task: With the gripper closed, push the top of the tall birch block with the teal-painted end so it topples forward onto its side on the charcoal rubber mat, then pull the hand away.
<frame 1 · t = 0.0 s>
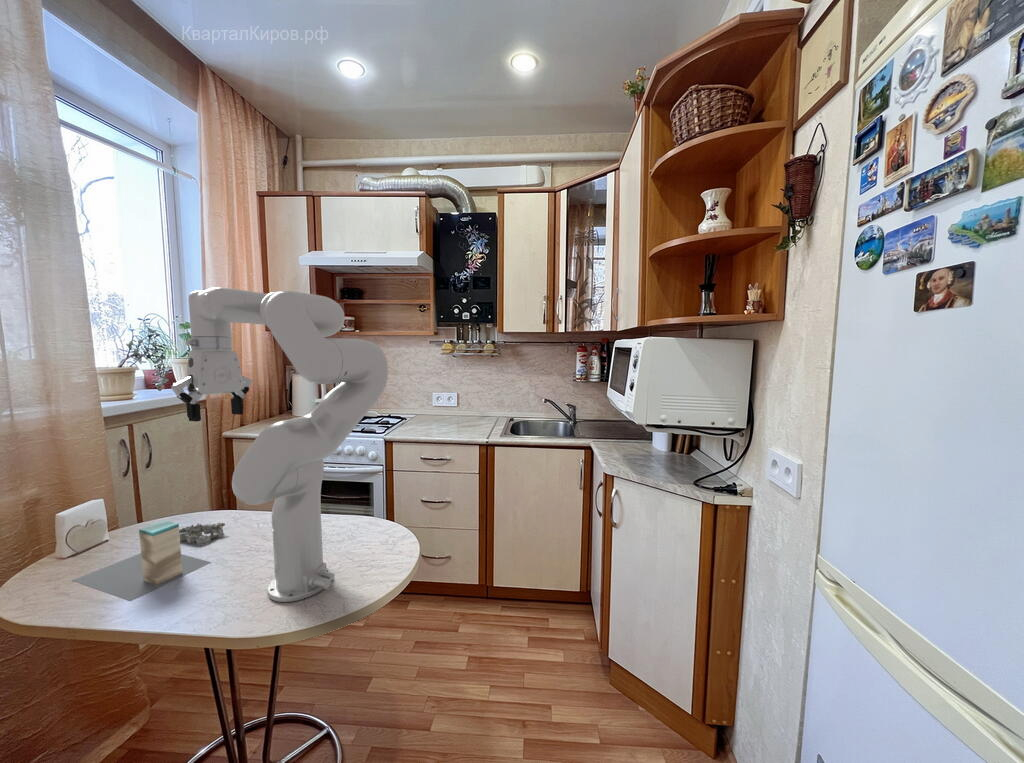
hand: (217, 417, 94), 37 cm above the table, tool pointing down, fingers open, 9 cm apart
rubber mat: (144, 573, 94), on the table
birch block: (163, 576, 91), point 1 cm above the table, touching rubber mat
grey jagged stone ring: (200, 540, 111), on the table
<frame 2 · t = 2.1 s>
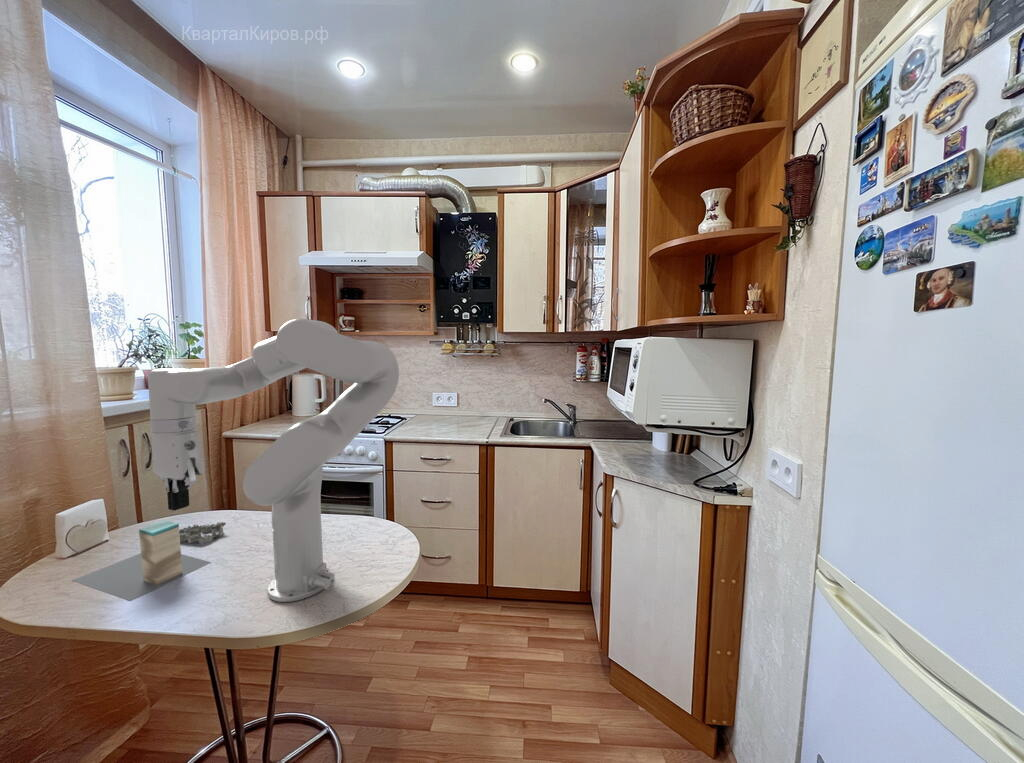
hand: (179, 507, 87), 18 cm above the table, tool pointing down, fingers closed
nothing on the table moved.
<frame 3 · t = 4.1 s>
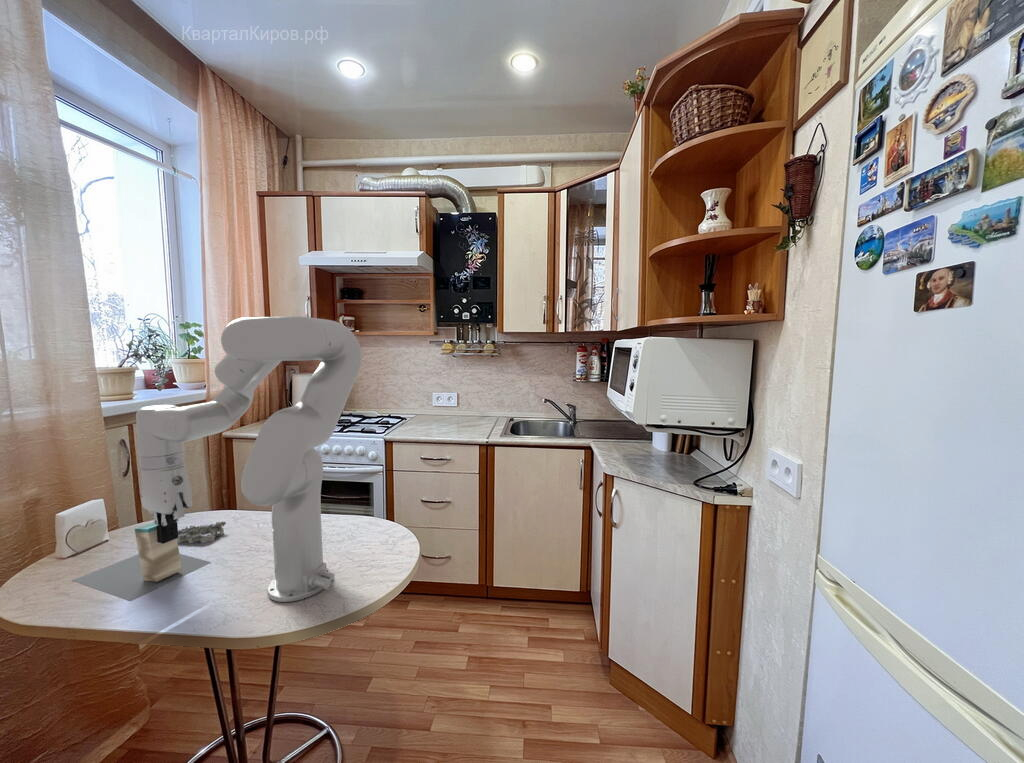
hand: (168, 540, 89), 10 cm above the table, tool pointing down, fingers closed
birch block: (163, 575, 91), point 1 cm above the table, tilted 8°, touching rubber mat
everything else where it was.
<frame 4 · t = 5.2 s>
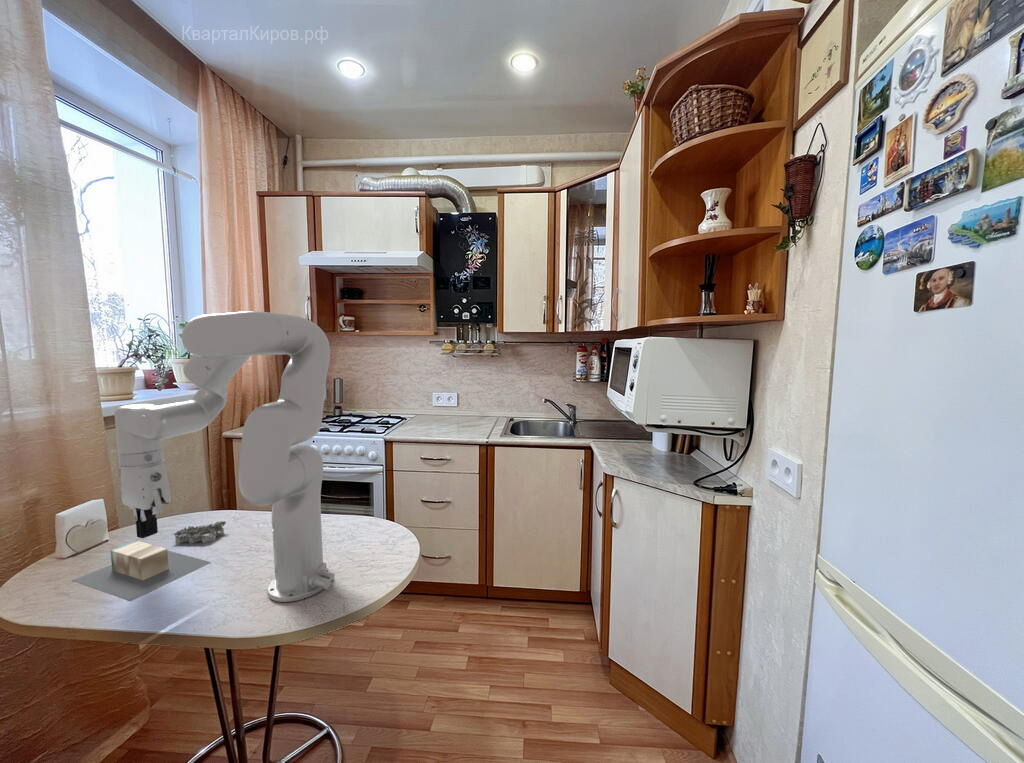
hand: (147, 535, 92), 10 cm above the table, tool pointing down, fingers closed
birch block: (155, 564, 92), point 3 cm above the table, tilted 90°, touching rubber mat
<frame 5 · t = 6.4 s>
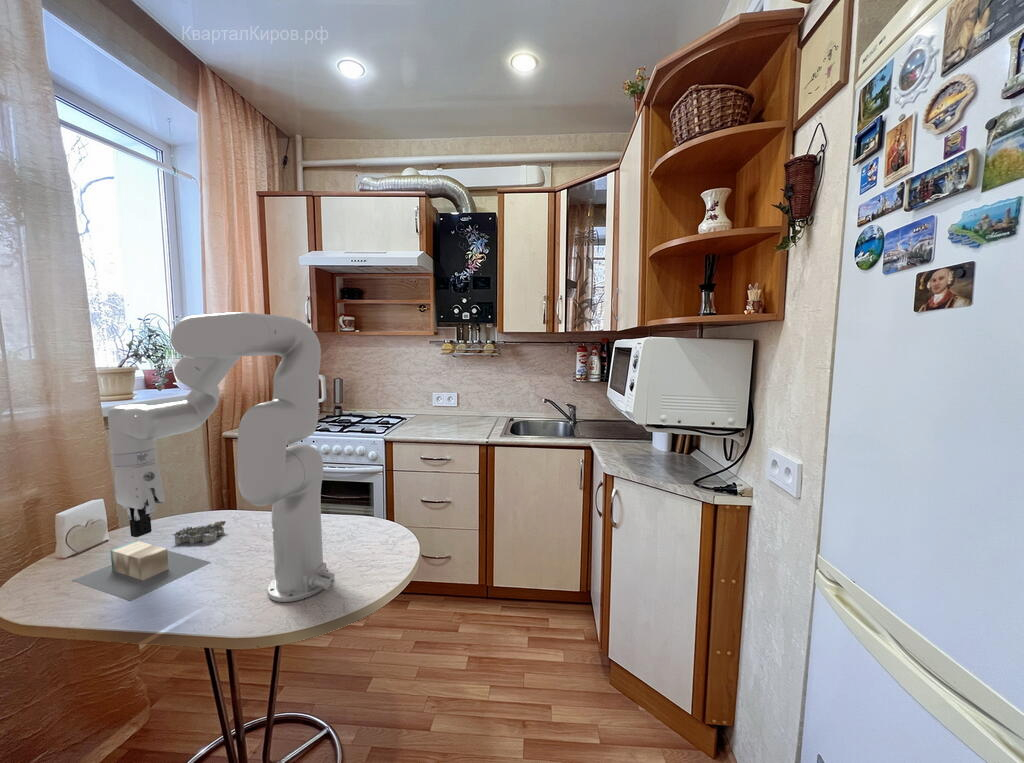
hand: (141, 534, 93), 10 cm above the table, tool pointing down, fingers closed
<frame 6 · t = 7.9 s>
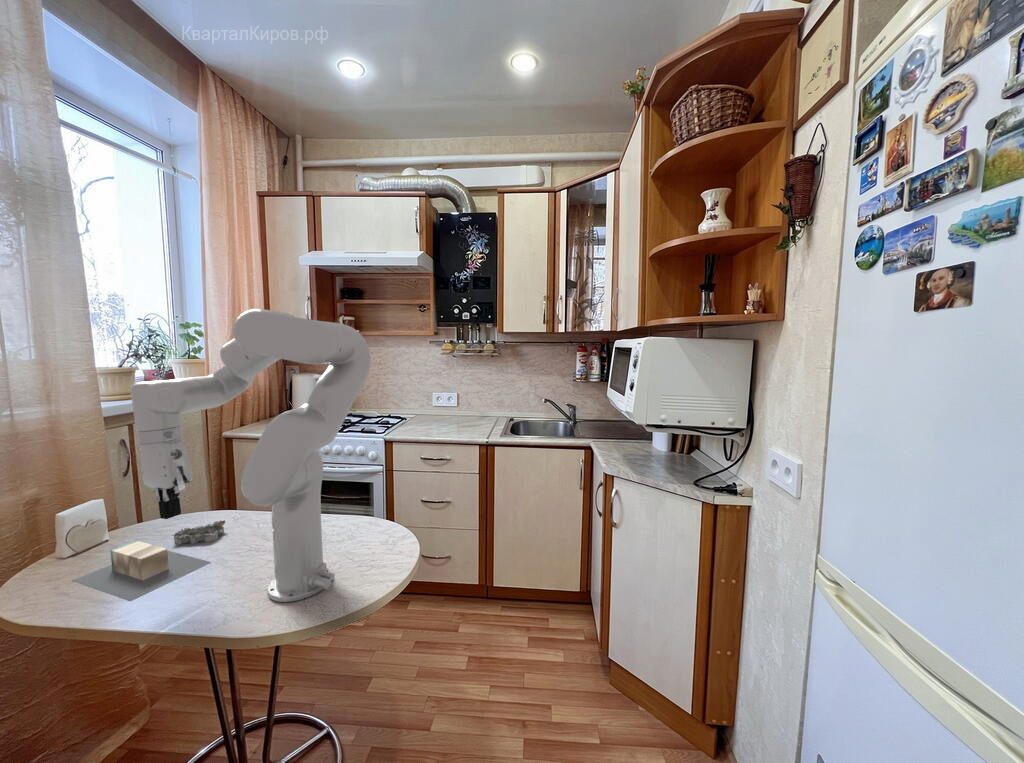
hand: (171, 516, 89), 15 cm above the table, tool pointing down, fingers closed
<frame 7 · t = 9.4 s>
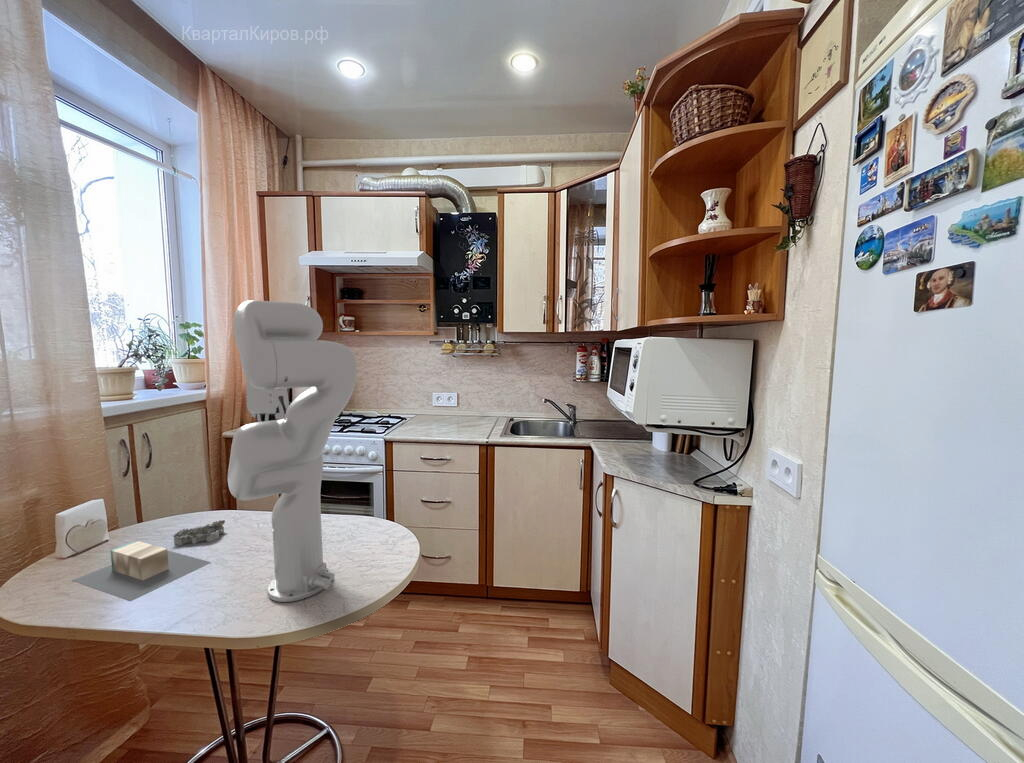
hand: (268, 439, 105), 29 cm above the table, tool pointing down, fingers closed
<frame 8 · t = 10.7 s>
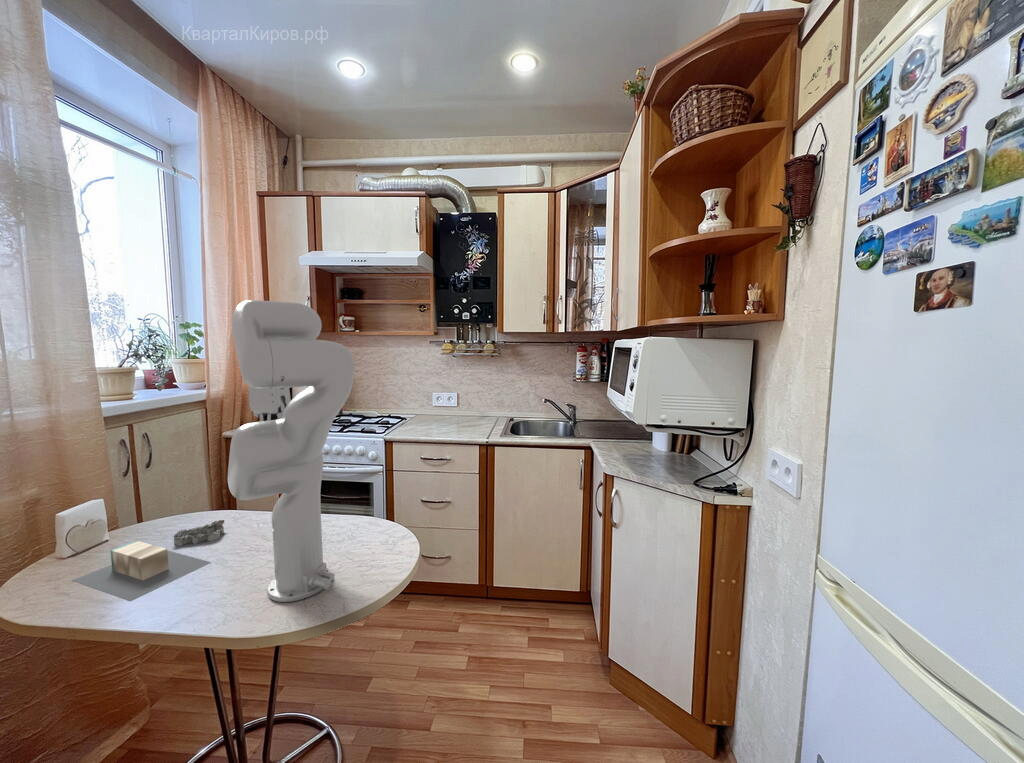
hand: (271, 438, 105), 29 cm above the table, tool pointing down, fingers closed
at the end: birch block tilted 90°; birch block inside the target area on the rubber mat (4.5 cm from its centre), point 3.1 cm above the rubber mat's base; the gripper is holding nothing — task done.
